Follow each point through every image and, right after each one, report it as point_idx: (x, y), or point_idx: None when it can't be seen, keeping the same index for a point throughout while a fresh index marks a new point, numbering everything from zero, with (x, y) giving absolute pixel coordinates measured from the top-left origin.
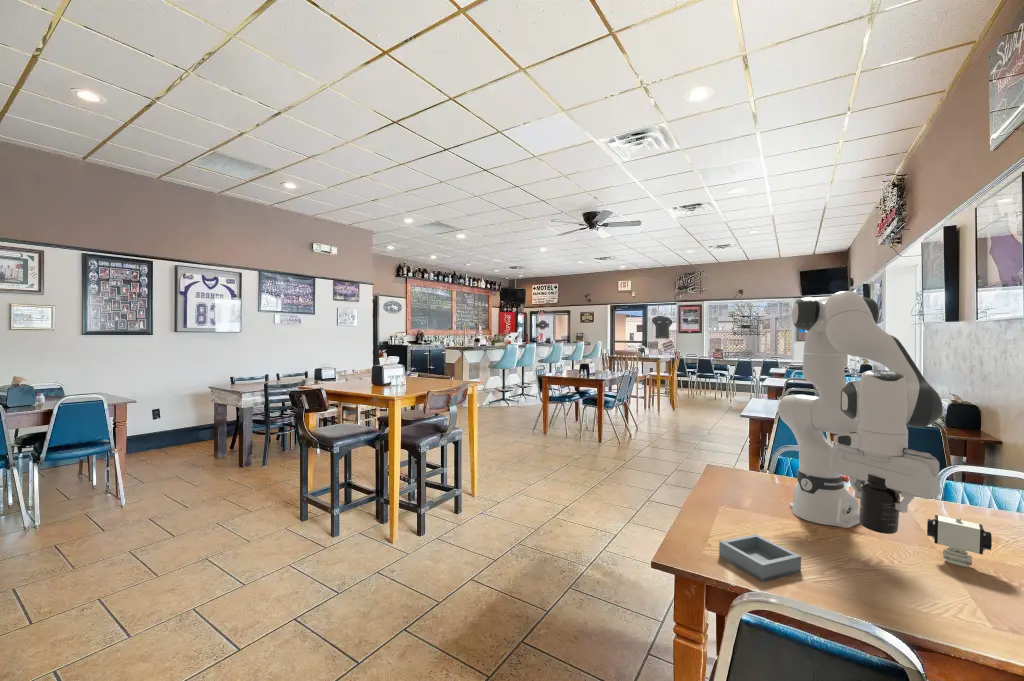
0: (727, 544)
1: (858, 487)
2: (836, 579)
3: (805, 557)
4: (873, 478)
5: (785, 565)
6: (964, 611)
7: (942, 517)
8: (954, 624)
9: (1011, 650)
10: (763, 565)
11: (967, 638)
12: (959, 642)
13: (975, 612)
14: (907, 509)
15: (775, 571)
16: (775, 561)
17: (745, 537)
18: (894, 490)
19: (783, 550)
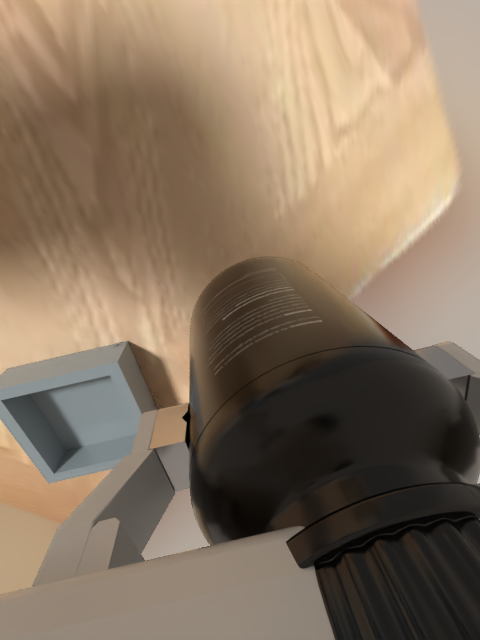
0: (64, 475)
1: (152, 500)
2: (160, 283)
3: (42, 275)
4: None
5: (140, 397)
6: (330, 72)
7: None
8: (356, 174)
9: (447, 147)
10: None
11: (393, 202)
12: (394, 233)
13: (341, 39)
14: (457, 346)
15: None
16: None
17: (13, 427)
18: (472, 478)
19: (83, 380)
